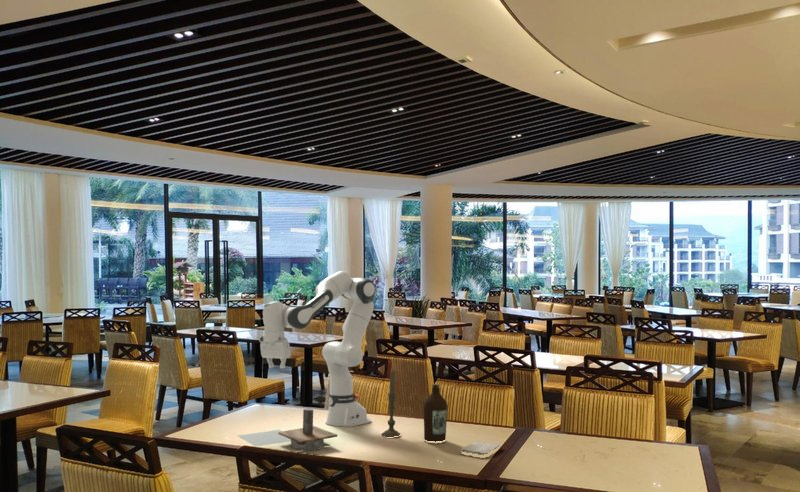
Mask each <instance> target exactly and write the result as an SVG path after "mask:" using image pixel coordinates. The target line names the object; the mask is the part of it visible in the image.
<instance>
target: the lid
mask: <svg viewBox="0 0 800 492" xmlns="http://www.w3.org/2000/svg"><path fill="white" fill-rule="evenodd" d="M302 411H303V413H302V414H303V415H302V428H301V427H300V428H296V429H289V430H284V431H283V430H281V431H282V432H278V434H279V435H282V436H284V437H287V438H289V439H291V440H294V441H296V442H298V443H305V442H311V441H316V440H322V439H324V440H326V439H332V438H337V437H338V434H337V433H334V432H331V431H329V430H326V429H323V428H321V427H317V426H315V425H314V409H313V408H304V409H303V410H302Z"/></svg>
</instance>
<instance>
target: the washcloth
mask: <svg viewBox="0 0 800 492" xmlns="http://www.w3.org/2000/svg"><path fill="white" fill-rule="evenodd" d="M500 445H501V444H498V443H491V442H490V443H488V442H484V441H475V442H473V443H471V444H468V445H467V446H465V447H462V448H460V450H459V451H460V452H461V451H462V452H466V453H472V454H478V455H484V454H488V453H489V452H490V451H491V450H494V449H496V448H497V447H499V446H500ZM462 452H461V453H462Z"/></svg>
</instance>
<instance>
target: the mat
mask: <svg viewBox="0 0 800 492" xmlns="http://www.w3.org/2000/svg"><path fill="white" fill-rule="evenodd" d="M282 431H283V430H281V429H276V430H268V431H262V432H253V433H247V434H239V435H237V437H238V438H240V439H242V440H243V441H244V442H247V443H249V444H250V445H252V446H254V447H261V446H268V445H274V444H280V443H287V442H291V439H289V438H287V437H284V436H282V435H279V434H278V432H282Z"/></svg>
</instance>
